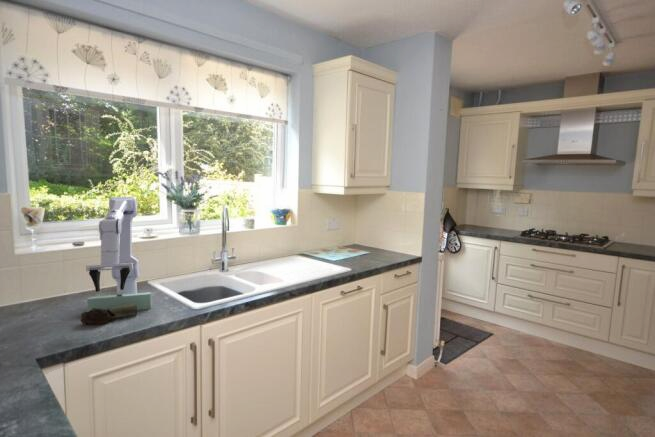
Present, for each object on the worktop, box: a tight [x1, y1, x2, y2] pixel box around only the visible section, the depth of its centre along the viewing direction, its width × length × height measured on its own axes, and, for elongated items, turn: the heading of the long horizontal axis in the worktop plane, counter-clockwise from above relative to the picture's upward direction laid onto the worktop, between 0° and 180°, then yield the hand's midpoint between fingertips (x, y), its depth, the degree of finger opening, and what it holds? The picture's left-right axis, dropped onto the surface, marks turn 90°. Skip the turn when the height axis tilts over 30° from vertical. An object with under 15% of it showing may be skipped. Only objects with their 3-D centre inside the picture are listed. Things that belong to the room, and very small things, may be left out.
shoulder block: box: [86, 291, 153, 312], centre depth 148 cm, size 3×22×7 cm, turn 108°
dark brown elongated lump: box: [80, 304, 138, 326], centre depth 138 cm, size 18×7×6 cm, turn 127°
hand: (110, 290), depth 133 cm, fingers open, 7 cm apart
